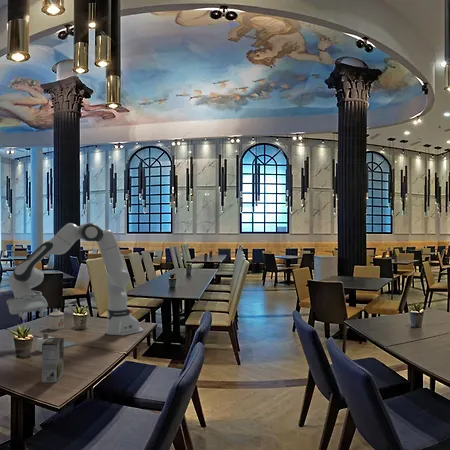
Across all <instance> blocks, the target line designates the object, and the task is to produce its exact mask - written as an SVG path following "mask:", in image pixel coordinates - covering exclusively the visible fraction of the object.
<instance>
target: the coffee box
mask: <svg viewBox="0 0 450 450" xmlns="http://www.w3.org/2000/svg"><path fill="white" fill-rule="evenodd" d="M64 339H65V338H64V337H53V338H49V339H47V340H46V341H45V342H44V343H43V344H42V352H41V383H57V382H58V381H59V380H60V379H61V378H62V377H63V376H64V364H65V363H64V362H65V361H64V353H65V350H64V342H65V340H64Z"/></svg>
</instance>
